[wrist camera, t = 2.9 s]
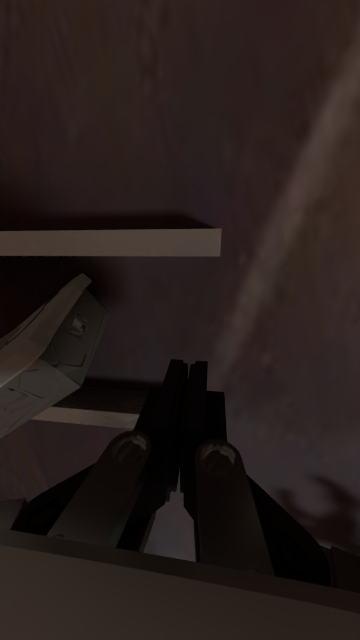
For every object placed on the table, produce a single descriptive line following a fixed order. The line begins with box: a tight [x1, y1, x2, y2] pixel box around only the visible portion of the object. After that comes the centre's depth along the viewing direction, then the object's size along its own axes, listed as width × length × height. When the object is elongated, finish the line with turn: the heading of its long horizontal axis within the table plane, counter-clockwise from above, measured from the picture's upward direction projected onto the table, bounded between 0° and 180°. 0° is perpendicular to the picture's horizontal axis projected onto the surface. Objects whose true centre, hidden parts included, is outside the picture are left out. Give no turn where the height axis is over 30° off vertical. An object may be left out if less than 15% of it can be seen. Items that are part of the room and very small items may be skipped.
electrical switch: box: [0, 273, 110, 438], centre depth 16 cm, size 9×5×9 cm, turn 126°
